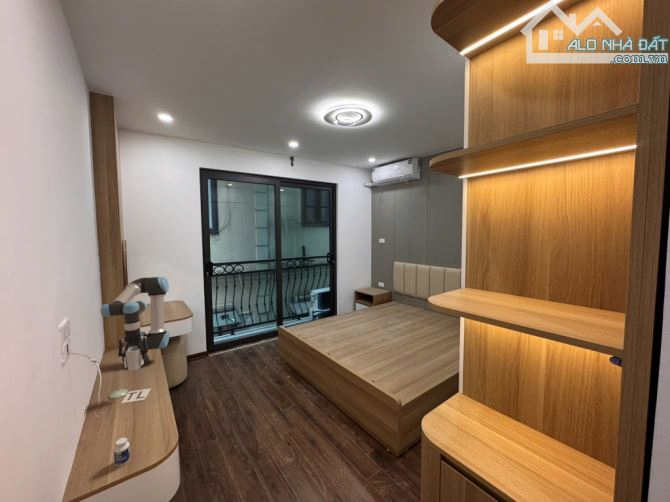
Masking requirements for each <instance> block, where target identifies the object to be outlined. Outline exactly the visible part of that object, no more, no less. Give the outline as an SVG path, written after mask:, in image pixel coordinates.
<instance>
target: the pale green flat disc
mask: <svg viewBox="0 0 670 502" xmlns="http://www.w3.org/2000/svg"><path fill="white" fill-rule="evenodd" d="M128 392H129V391H128V389H126V388H120V389H117V390H114V391H112V392H110V393H109V394H108V398H109V399H112V400H113V399H118V398H122V397H123V396H126V395H127V393H128Z"/></svg>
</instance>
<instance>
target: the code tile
mask: <svg viewBox="0 0 670 502" xmlns="http://www.w3.org/2000/svg"><path fill="white" fill-rule="evenodd" d="M151 389H152V388H145V389H144V388H143V389H136V390H132V391H128V392H127V394H125V395H124V396H125V397H124V398H123V399H122V401H121V403H120V404H124V403H126V404H127V403H130V402H131V403H132V402H137V401H144V400H146V399H147V397H148V395H149V393H150V391H151Z"/></svg>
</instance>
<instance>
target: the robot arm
mask: <svg viewBox="0 0 670 502" xmlns="http://www.w3.org/2000/svg"><path fill="white" fill-rule="evenodd" d="M169 286H170V284H169V281H168V279H167V277H165V276H164V277H163V276H154V277H153V276H152V277H151V276H150V277H140V278H137V279H135V280H132V281H130V282H128V284H126V286H125V287H124V290H123V291H122V292H121V293H120V294H119V295H118V296H117V297H116V298H115V299H114V300H113V301H112V302H110V303H105V304H103V305H102V306H101V308H100V314H101V316H102V317H118V316H120V317H121V316H123V324H124V326H123V327H124V329H123V330H124V338H120V339H119V340H118V344H119V345H118V353H117V357H122V359H121V360H122V363H124V368H125V369H127V370H128V365H127V359H126V353H125V350H126V351H127V350H128V348H130V347H133V346H137V347H138V349H140V352H141V355H140V361H141V367H140V368H143V367H145V366H147V365H148V364H149V363H150V357H149V355H148V352H149V351H151V350H160V349H165V348H166V347H167V346H168V344H169V340H170V331H167V329H166V327H165V296H166V295H167V293H168V292H169V290H170V289H169V288H170V287H169ZM140 294H147V297H149V299H150V302H149V303H150V329H149V331H148V333H147V332H146V331H141V320H140V315H141V314H143V313H144V312H145V311H146V309H147V307H148V305H147V303H146V302H145V301H144V300H137V301H135V302H133V301H132V300H133V299H134V298H135V297H136V296H138V295H140ZM131 301H132V302H131ZM124 342H126V343H125V348H124ZM123 348H124V349H123Z"/></svg>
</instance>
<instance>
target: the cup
mask: <svg viewBox="0 0 670 502" xmlns="http://www.w3.org/2000/svg"><path fill="white" fill-rule="evenodd" d="M124 350H125V349H124ZM125 353H126V359H127V365H128V369H127V371H129V372H130V371H136V370H139V369H141V368H142V367H141V361H140V355H141V352H140V349H138V347H137V346H133V347H130V348H128V350H127V351H126V350H125Z"/></svg>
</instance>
